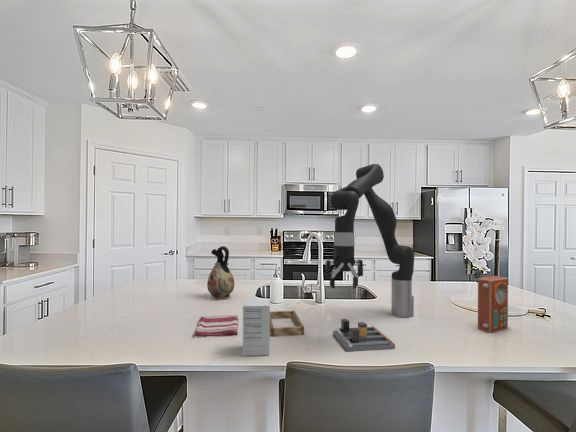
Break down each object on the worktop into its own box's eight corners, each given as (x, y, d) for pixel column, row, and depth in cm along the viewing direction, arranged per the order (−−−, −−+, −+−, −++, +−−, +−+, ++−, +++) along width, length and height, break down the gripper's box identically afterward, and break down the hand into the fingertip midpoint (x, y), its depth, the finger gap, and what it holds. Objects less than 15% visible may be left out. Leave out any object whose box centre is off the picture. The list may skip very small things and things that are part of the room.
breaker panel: (375, 332, 132) (376, 316, 132) (395, 348, 116) (395, 330, 116) (333, 334, 129) (333, 318, 129) (346, 351, 113) (346, 332, 113)
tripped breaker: (364, 335, 124) (364, 322, 124) (366, 338, 121) (367, 324, 121) (357, 335, 124) (357, 322, 124) (360, 338, 121) (360, 324, 121)
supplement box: (269, 355, 109) (270, 305, 109) (242, 356, 109) (242, 306, 109) (269, 344, 119) (269, 298, 119) (243, 345, 118) (244, 299, 118)
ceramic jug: (201, 298, 185) (201, 246, 185) (221, 293, 198) (221, 244, 198) (222, 303, 175) (222, 247, 175) (241, 297, 188) (242, 245, 188)
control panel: (511, 328, 138) (490, 334, 131) (494, 323, 144) (473, 328, 137) (511, 277, 138) (490, 280, 131) (494, 275, 144) (473, 277, 137)
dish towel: (193, 339, 125) (193, 332, 125) (200, 320, 149) (200, 314, 149) (237, 337, 128) (237, 330, 128) (238, 318, 151) (238, 312, 151)
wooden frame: (294, 317, 152) (294, 310, 152) (304, 334, 129) (304, 327, 129) (266, 318, 150) (266, 311, 150) (271, 336, 127) (271, 328, 127)
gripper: (358, 243, 127) (358, 285, 127) (323, 243, 125) (322, 286, 125) (366, 245, 119) (365, 289, 119) (328, 245, 117) (327, 290, 117)
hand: (343, 287), depth 122 cm, fingers open, 8 cm apart
